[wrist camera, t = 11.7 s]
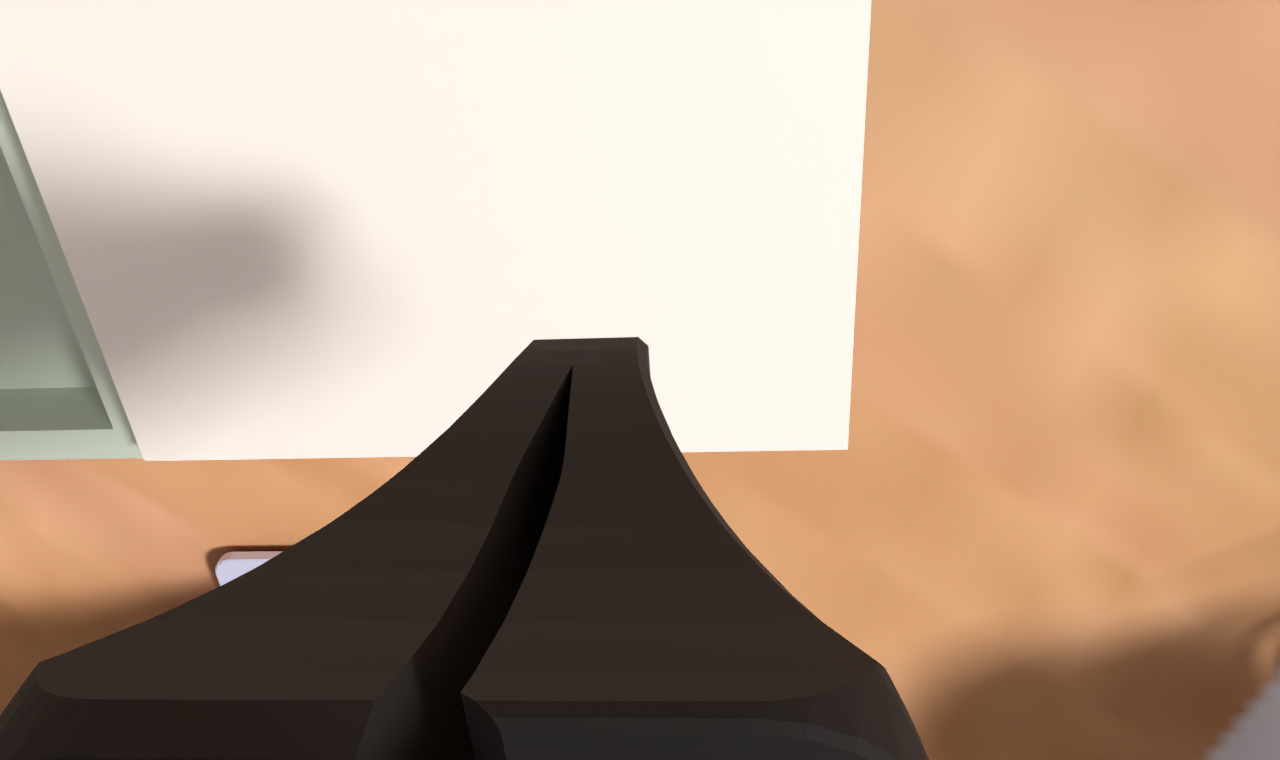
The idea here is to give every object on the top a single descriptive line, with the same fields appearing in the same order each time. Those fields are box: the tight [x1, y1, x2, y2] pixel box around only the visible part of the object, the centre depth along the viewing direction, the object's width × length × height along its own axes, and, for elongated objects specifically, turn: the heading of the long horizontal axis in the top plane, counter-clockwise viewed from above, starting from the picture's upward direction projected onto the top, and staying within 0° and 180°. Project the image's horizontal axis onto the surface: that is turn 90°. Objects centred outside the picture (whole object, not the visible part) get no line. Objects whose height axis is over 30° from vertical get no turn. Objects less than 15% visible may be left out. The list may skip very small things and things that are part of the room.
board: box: [0, 0, 871, 461], centre depth 20 cm, size 12×15×3 cm
